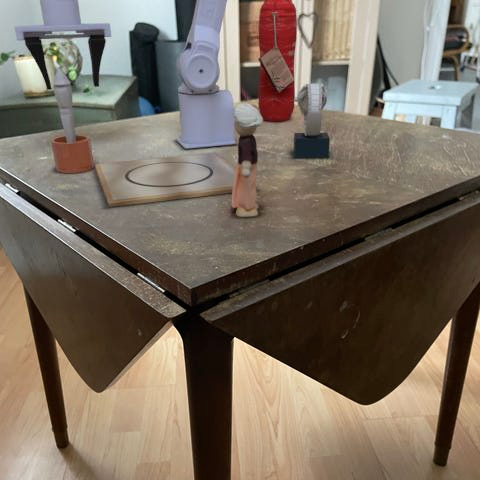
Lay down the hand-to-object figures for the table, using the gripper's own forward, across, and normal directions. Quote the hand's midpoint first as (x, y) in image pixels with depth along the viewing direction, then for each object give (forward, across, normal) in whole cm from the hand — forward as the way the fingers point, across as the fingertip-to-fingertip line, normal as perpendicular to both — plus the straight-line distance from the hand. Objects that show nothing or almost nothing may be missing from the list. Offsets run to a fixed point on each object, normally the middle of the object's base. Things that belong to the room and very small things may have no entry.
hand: (73, 87), depth 90 cm
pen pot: (+10, +2, +11) cm, 16 cm away
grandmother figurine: (+11, -17, +41) cm, 45 cm away
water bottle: (+11, -41, -11) cm, 44 cm away
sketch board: (+10, -11, +22) cm, 27 cm away
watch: (+11, -36, +18) cm, 41 cm away
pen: (+10, +2, +11) cm, 15 cm away
